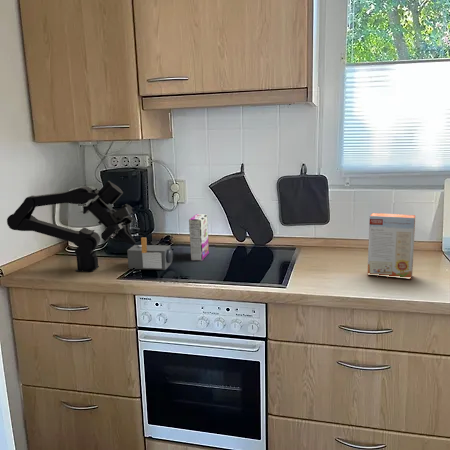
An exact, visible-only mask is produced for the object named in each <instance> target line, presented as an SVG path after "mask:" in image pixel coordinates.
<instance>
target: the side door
mask: <svg viewBox="0 0 450 450" xmlns="http://www.w3.org/2000/svg"><path fill="white" fill-rule="evenodd" d="M140 245H141V247H142V258H143V268H159V269H162V252H147V245H148V243H147V237H143V236H142V237H140Z"/></svg>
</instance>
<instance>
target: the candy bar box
mask: <svg viewBox="0 0 450 450" xmlns="http://www.w3.org/2000/svg"><path fill="white" fill-rule="evenodd" d="M208 221H209V220H208V214H206V213H196V214H195V215H193V216H191V218H189V219H188V225H189V228H188V231H189V247H190V261H198V262H199V261H200V262H202V261H203V260H205V259H206V257H207V256H208V255H209V254H210V251H209V250H210V249H209V248H210V247H209V246H210V245H209V227H208V226H209V225H208Z"/></svg>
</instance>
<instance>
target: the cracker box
mask: <svg viewBox="0 0 450 450" xmlns="http://www.w3.org/2000/svg"><path fill="white" fill-rule="evenodd" d="M415 231H416V215H415V214H401V213H399V214H398V213H380V212H379V213H376V212H375V213H373V212H372V213H371V214H370V215H369V225H368V249H367V274H368V273H370V274H379V275H389V276H400V277H412V278H413V270H414V268H413V267H414V253H415V251H414V250H415V249H414V248H415V234H416V233H415Z"/></svg>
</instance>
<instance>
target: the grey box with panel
mask: <svg viewBox="0 0 450 450" xmlns="http://www.w3.org/2000/svg"><path fill="white" fill-rule="evenodd" d="M126 251H127V264H128V265H127V267H128V268H129V270H163V271H165V270H167V269H168V268H169V267H170V266H171V265H172V263H173V259H174V253H173V249H171V245H163V244H162V245H159V244H158V245H157V244H155V245H150V244H147V252H162V269H159V268H143V258H142V247H141V244H135V245H132V246H131V247H130V248H128V249H126ZM133 268H135V269H133Z"/></svg>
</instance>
